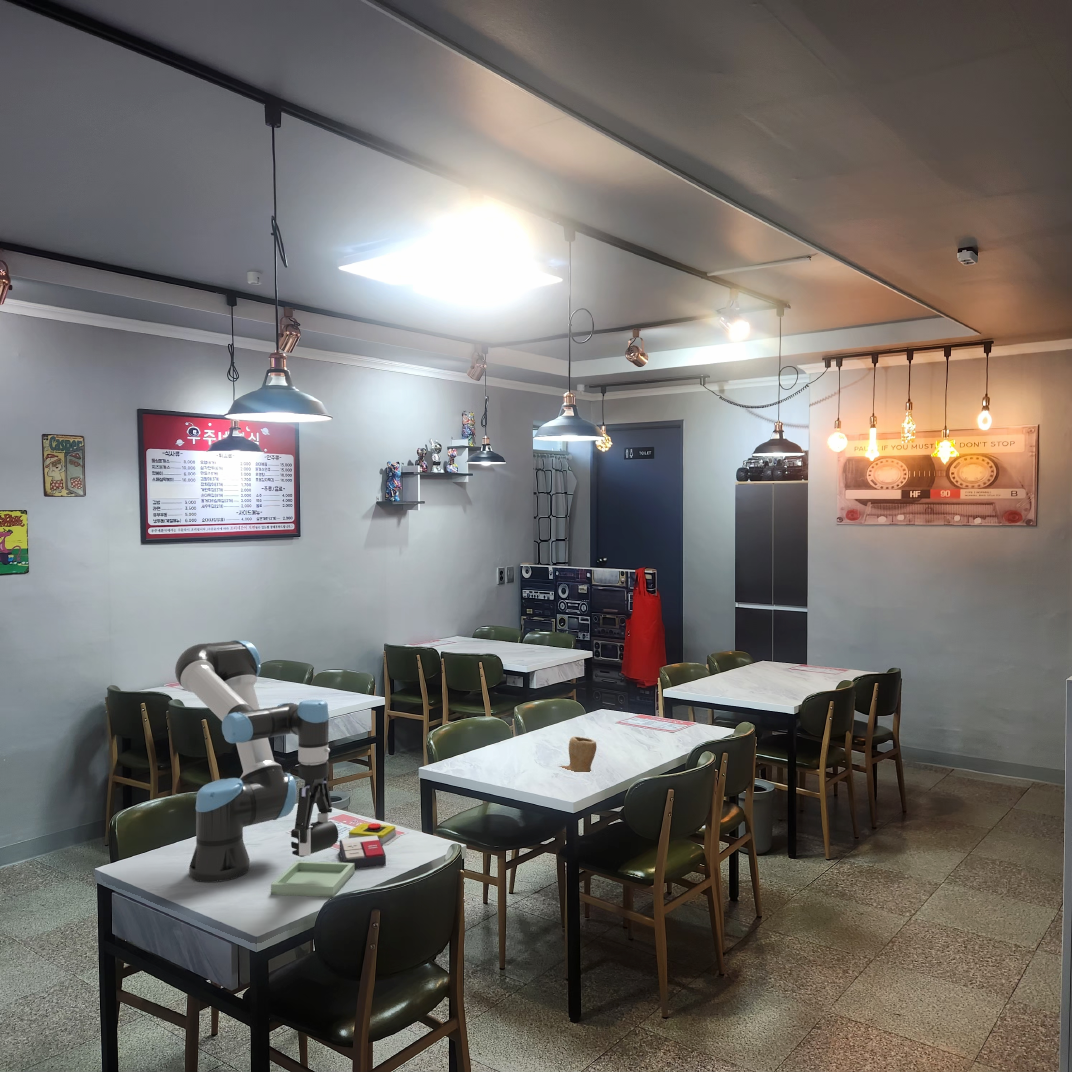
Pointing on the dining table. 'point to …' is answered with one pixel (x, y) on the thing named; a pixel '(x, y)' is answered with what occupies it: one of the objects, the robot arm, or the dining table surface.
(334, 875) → the sage tray
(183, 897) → the dining table surface
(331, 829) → the end cap
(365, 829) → the emergency button
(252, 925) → the dining table surface
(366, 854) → the button switch box
